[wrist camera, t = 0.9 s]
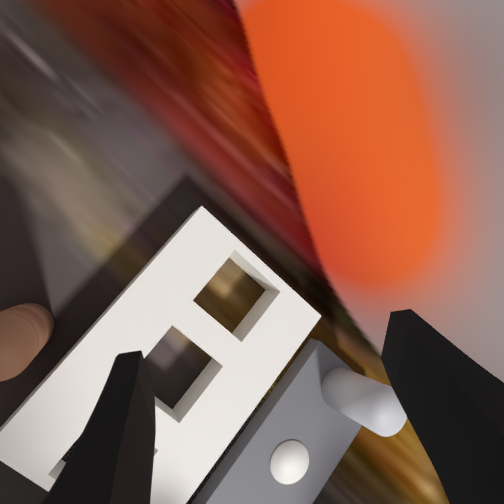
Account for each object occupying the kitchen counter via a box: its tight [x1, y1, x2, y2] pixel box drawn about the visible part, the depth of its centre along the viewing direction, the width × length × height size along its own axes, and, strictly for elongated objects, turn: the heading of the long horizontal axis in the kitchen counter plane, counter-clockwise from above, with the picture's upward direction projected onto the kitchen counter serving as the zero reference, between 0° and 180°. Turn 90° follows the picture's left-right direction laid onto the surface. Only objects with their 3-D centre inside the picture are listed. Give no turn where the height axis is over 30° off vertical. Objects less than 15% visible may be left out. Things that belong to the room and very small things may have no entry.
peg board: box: [0, 206, 321, 504], centre depth 24 cm, size 16×10×2 cm, turn 140°
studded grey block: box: [191, 338, 407, 504], centre depth 24 cm, size 14×6×6 cm, turn 140°
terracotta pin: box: [0, 303, 54, 381], centre depth 20 cm, size 3×3×7 cm
